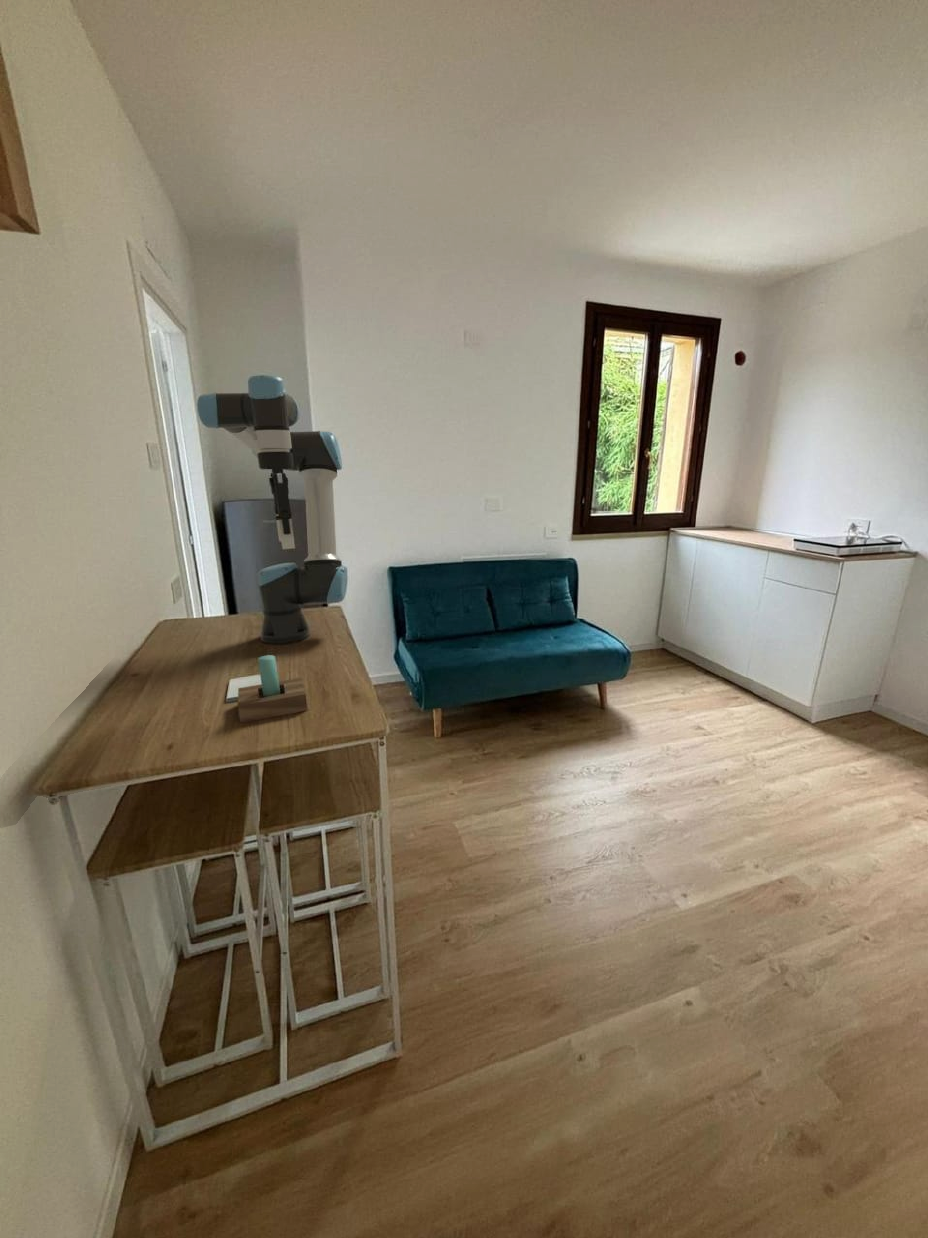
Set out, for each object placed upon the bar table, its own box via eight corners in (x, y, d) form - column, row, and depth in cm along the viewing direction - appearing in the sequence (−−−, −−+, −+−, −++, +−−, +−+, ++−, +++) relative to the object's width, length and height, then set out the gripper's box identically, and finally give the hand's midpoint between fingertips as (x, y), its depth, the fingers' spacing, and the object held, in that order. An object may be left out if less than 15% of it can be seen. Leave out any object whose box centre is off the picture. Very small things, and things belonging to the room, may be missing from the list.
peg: (265, 705, 118) (257, 656, 115) (281, 702, 119) (274, 654, 116) (265, 711, 115) (257, 662, 111) (282, 708, 116) (275, 659, 113)
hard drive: (263, 692, 122) (263, 673, 133) (225, 698, 120) (229, 678, 131) (264, 698, 123) (264, 679, 134) (226, 705, 120) (230, 684, 131)
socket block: (241, 703, 119) (238, 688, 118) (303, 692, 124) (301, 677, 123) (240, 723, 110) (237, 706, 109) (307, 710, 115) (305, 693, 114)
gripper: (256, 452, 126) (268, 539, 132) (258, 449, 103) (272, 553, 110) (288, 452, 128) (298, 536, 135) (296, 448, 106) (308, 550, 112)
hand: (286, 544), depth 122 cm, fingers open, 13 cm apart
